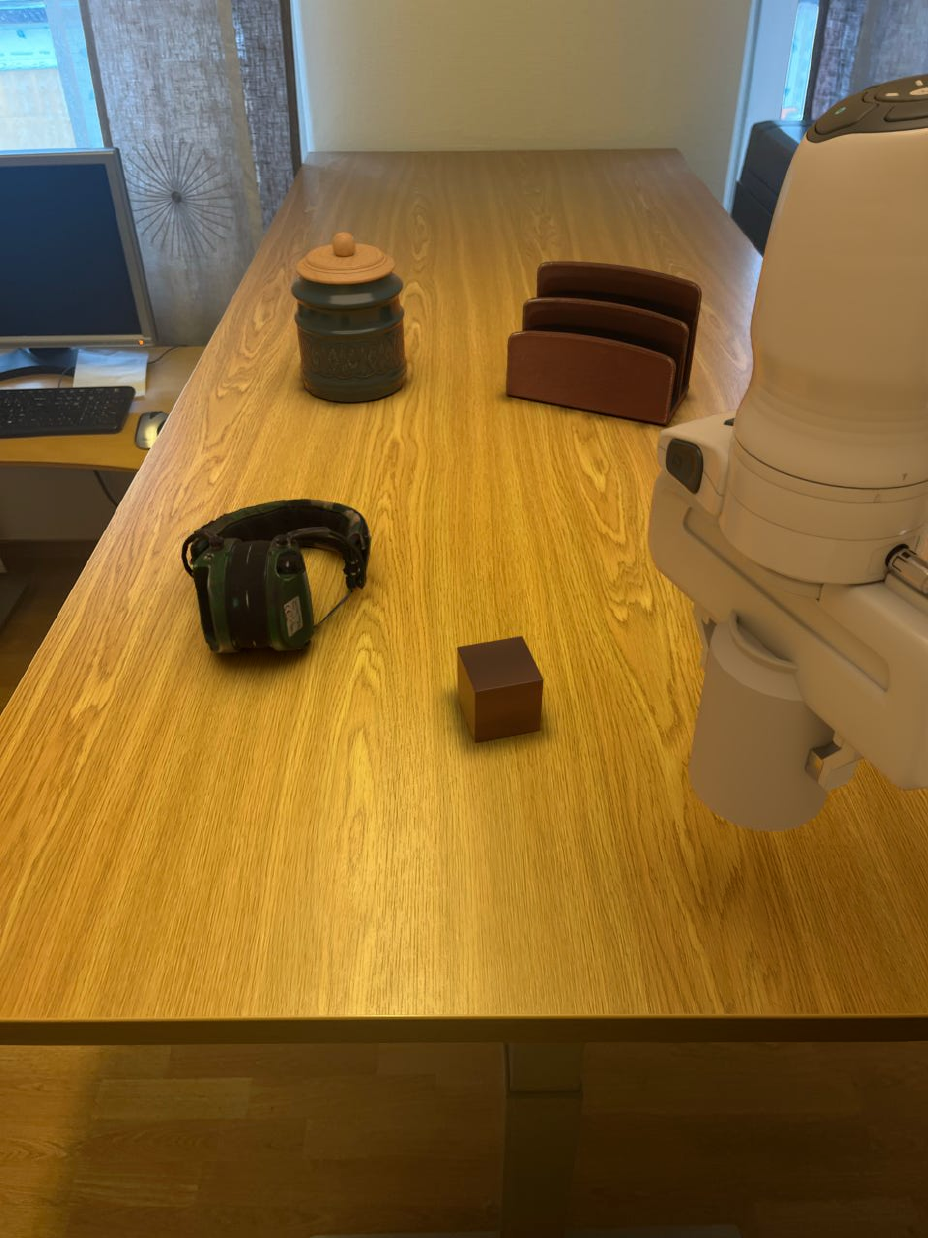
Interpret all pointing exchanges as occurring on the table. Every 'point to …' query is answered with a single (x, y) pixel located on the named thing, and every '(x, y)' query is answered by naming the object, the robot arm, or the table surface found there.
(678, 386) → the letter holder
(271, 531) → the headphones
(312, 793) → the table surface
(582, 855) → the table surface
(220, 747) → the table surface
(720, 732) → the can
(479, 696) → the walnut block
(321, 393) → the canister
